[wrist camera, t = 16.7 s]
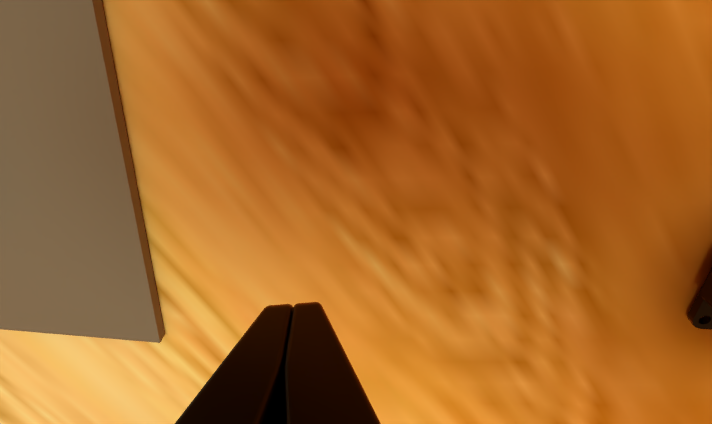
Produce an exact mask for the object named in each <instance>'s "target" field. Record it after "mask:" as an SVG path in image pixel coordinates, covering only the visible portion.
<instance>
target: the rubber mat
mask: <svg viewBox="0 0 712 424" xmlns="http://www.w3.org/2000/svg"><path fill="white" fill-rule="evenodd" d="M0 329H4V330H16V331H28V332H40V333H52V334H63V335H75V336H87V337H99V338H111V339H122V340H134V341H146V342H158V343H160V342H161V340H162V339H163V337H164V335H165V332H164V326H163V321H162V316H161V311H160V305H159V300H158V295H157V289H156V284H155V279H154V274H153V268H152V263H151V258H150V253H149V247H148V242H147V237H146V231H145V226H144V221H143V216H142V210H141V205H140V200H139V194H138V189H137V184H136V179H135V173H134V168H133V163H132V158H131V152H130V147H129V142H128V136H127V131H126V126H125V121H124V115H123V110H122V105H121V100H120V94H119V89H118V84H117V78H116V73H115V68H114V63H113V57H112V52H111V47H110V41H109V36H108V31H107V26H106V20H105V15H104V10H103V5H102V0H0Z"/></svg>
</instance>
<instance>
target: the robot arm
mask: <svg viewBox="0 0 712 424" xmlns="http://www.w3.org/2000/svg"><path fill="white" fill-rule="evenodd" d="M703 316H704V317H703ZM701 317H702V318H701ZM688 319H689V320H690V322H691V323H692V324H693V325H694V326H695V327H696V328H701V329H712V269H711V271H710V273H709V275H708V277H707V279H706V281H705V282H704V284H703V286H702V288H701V290H700V292H699V294H698V296H697V298H696V300H695V302H694V303H693V305H692V307H691V309H690V311H689V313H688ZM175 424H380V422H379V420H378V418H377V416H376V414H375V412H374V410H373V408H372V406H371V404H370V402H369V400H368V398H367V396H366V393H365V391H364V389H363V387H362V385H361V383H360V381H359V379H358V377H357V375H356V373H355V371H354V369H353V367H352V365H351V363H350V361H349V359H348V357H347V355H346V353H345V351H344V349H343V347H342V345H341V343H340V341H339V339H338V337H337V335H336V333H335V331H334V329H333V327H332V325H331V323H330V321H329V319H328V317H327V315H326V313H325V311H324V309H323V307H322V305H321V304H320V303H318V302H311V303H298V304H296V305H295V306H294V307H293V306H292V305H290V304H283V305H270V306H267V307H266V308H264V309H263V311H262V312H261V313H260V315H259V316H258V317H257V319H256V320H255V321H254V322H253V324H252V325H251V326H250V328H249V329H248V330H247V331H246V333H245V334H244V335H243V337H242V338H241V339H240V340H239V342H238V343H237V344H236V346H235V347H234V348H233V349H232V351H231V352H230V353H229V355H228V356H227V357H226V358H225V360H224V361H223V362H222V364H221V365H220V366H219V368H218V369H217V370H216V371H215V373H214V374H213V375H212V377H211V378H210V379H209V380H208V382H207V383H206V384H205V386H204V387H203V388H202V389H201V391H200V392H199V393H198V395H197V396H196V397H195V398H194V400H193V401H192V402H191V404H190V405H189V406H188V407H187V409H186V410H185V411H184V413H183V414H182V415H181V416H180V418H179V419H178V420H177V422H176V423H175Z"/></svg>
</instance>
